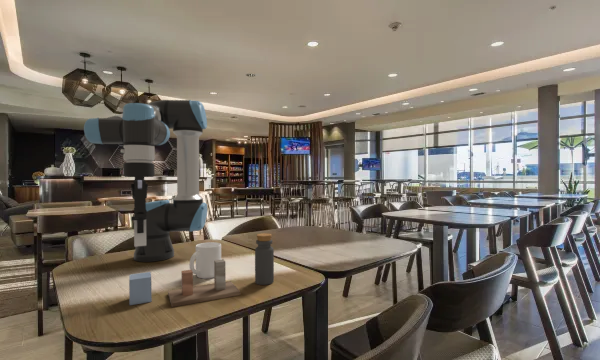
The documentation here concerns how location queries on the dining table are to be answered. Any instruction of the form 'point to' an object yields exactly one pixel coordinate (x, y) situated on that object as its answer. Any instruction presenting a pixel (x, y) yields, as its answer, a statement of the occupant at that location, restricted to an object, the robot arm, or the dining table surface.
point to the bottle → (264, 260)
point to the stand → (203, 288)
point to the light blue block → (140, 288)
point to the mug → (205, 259)
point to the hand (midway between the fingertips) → (139, 241)
